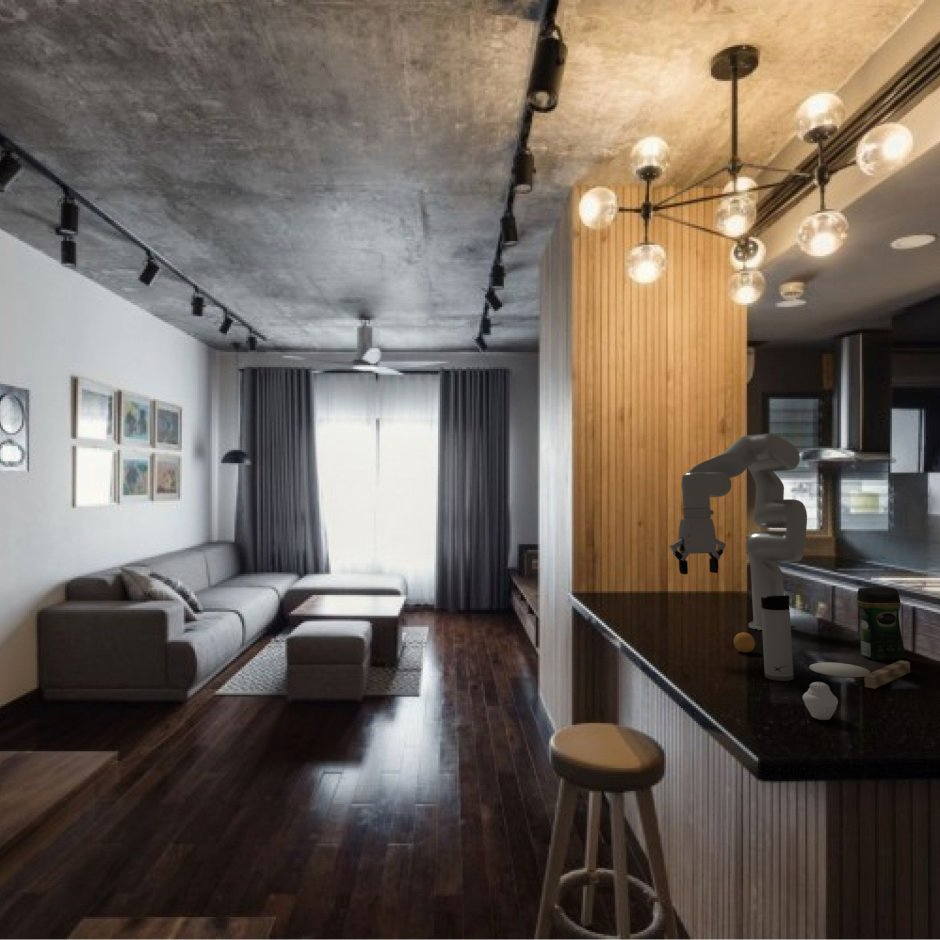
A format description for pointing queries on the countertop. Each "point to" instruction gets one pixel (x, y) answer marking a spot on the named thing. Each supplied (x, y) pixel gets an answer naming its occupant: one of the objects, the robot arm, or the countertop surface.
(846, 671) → the disc
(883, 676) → the stopper strip
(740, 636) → the ball
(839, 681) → the countertop surface
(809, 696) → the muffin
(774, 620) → the travel mug
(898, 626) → the coffee jar
